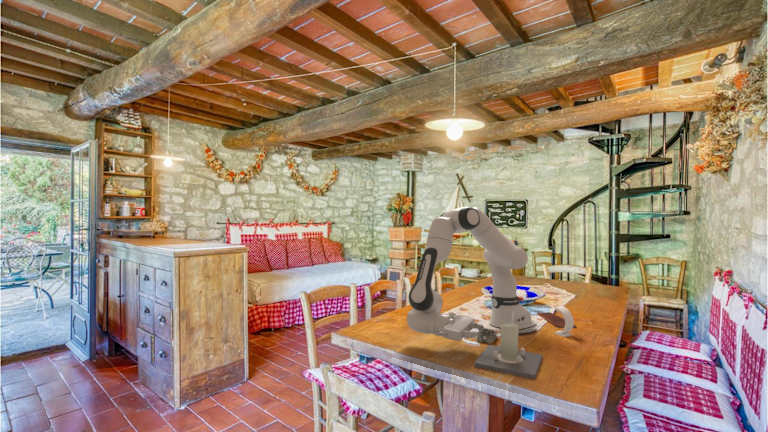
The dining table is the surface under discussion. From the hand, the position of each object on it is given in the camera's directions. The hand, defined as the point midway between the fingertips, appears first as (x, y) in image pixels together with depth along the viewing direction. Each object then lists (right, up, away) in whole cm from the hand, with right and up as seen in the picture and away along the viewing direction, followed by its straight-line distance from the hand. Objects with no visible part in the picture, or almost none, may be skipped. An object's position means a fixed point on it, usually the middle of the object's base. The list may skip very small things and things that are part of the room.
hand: (480, 331), depth 138 cm
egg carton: (+8, -10, +20) cm, 24 cm away
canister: (+9, -8, -5) cm, 13 cm away
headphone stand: (+44, -10, +25) cm, 52 cm away
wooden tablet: (+51, -10, +48) cm, 71 cm away
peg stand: (+9, -10, -5) cm, 15 cm away
